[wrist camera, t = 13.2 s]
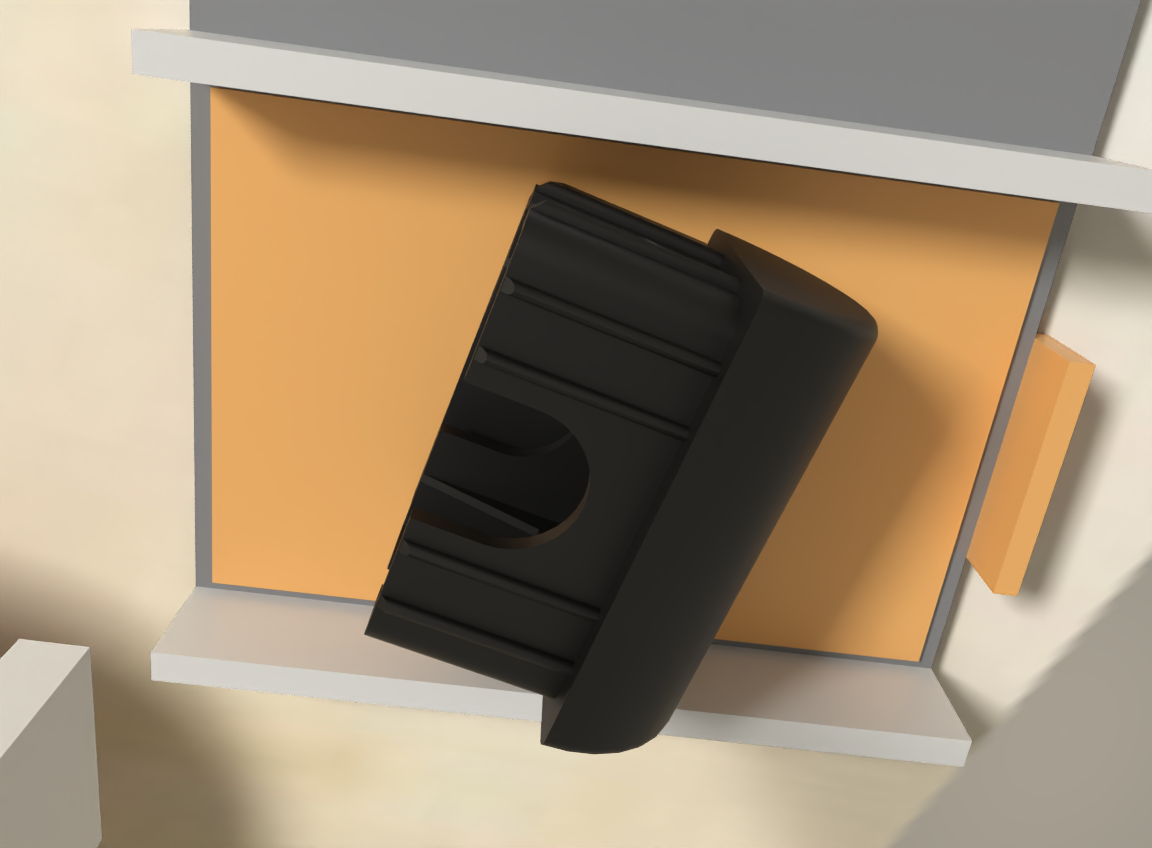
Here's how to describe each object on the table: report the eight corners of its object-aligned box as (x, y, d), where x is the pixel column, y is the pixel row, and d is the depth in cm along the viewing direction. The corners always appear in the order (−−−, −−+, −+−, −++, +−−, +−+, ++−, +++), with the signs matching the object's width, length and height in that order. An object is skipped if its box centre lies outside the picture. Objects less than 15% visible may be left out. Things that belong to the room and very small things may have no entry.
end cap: (655, 614, 26) (680, 797, 20) (402, 523, 25) (344, 686, 19) (831, 271, 23) (929, 361, 17) (547, 151, 22) (536, 197, 16)
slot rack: (1355, -631, 18) (1538, -787, 14) (937, 681, 28) (986, 769, 25) (193, -843, 17) (97, -1064, 13) (204, 599, 27) (151, 680, 24)
